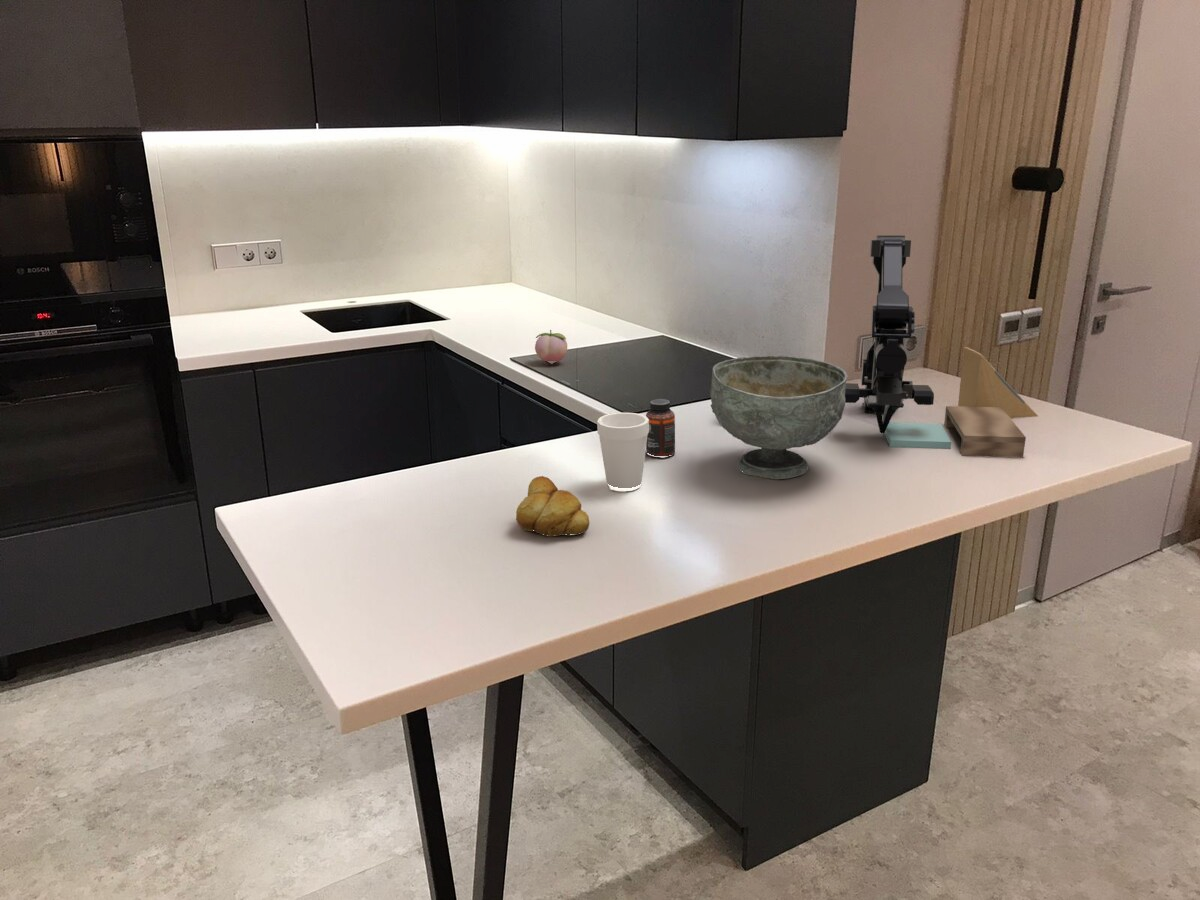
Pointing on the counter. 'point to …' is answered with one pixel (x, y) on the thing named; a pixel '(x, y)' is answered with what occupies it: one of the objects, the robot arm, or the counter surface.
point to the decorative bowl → (777, 408)
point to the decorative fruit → (551, 346)
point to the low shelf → (985, 431)
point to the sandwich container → (988, 387)
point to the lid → (917, 435)
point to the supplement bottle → (661, 428)
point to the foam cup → (623, 447)
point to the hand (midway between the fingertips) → (881, 432)
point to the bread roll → (551, 510)
